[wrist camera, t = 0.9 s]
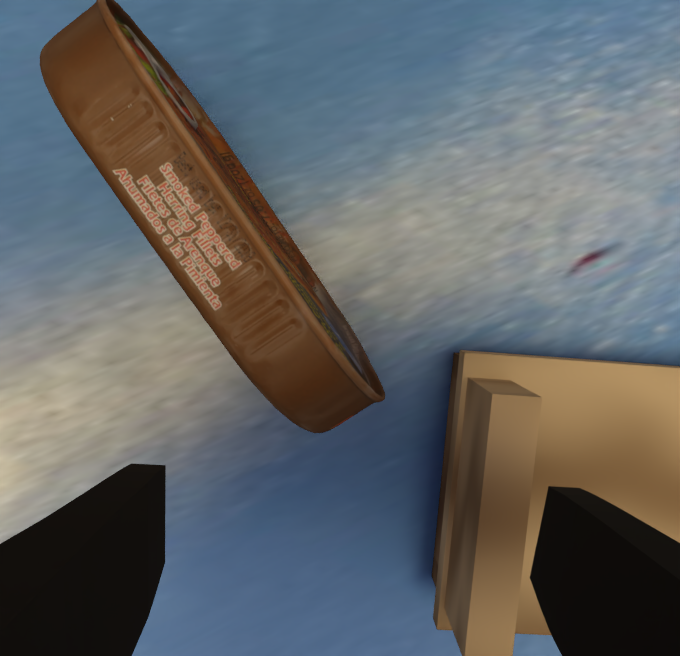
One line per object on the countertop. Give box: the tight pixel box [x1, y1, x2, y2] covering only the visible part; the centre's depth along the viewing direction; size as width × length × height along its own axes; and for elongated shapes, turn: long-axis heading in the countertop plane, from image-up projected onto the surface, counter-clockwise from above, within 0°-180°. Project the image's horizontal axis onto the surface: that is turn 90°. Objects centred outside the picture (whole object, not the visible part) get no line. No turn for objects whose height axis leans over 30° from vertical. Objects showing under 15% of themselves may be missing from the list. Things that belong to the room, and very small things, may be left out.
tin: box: [40, 0, 385, 433], centre depth 17 cm, size 15×3×8 cm, turn 34°
